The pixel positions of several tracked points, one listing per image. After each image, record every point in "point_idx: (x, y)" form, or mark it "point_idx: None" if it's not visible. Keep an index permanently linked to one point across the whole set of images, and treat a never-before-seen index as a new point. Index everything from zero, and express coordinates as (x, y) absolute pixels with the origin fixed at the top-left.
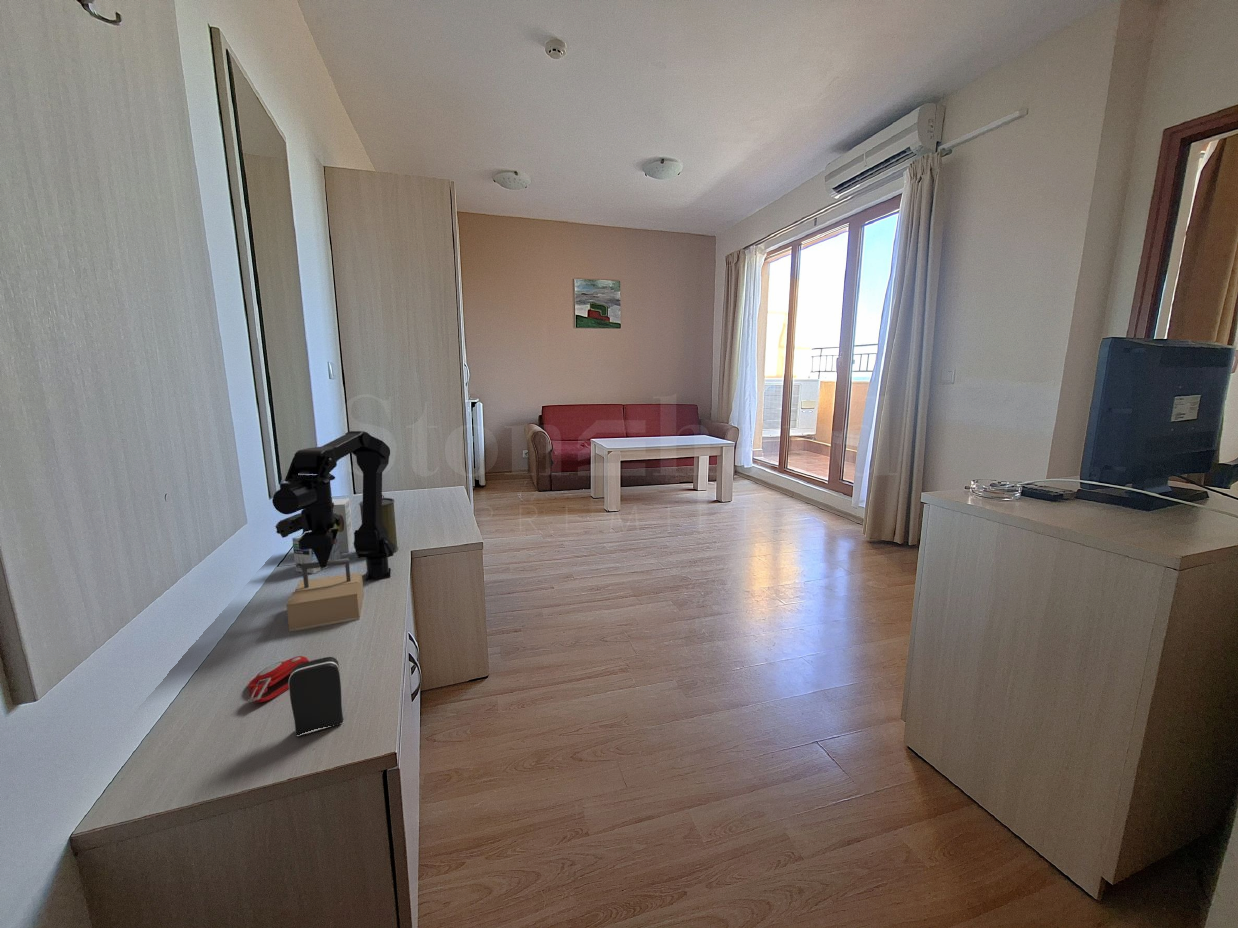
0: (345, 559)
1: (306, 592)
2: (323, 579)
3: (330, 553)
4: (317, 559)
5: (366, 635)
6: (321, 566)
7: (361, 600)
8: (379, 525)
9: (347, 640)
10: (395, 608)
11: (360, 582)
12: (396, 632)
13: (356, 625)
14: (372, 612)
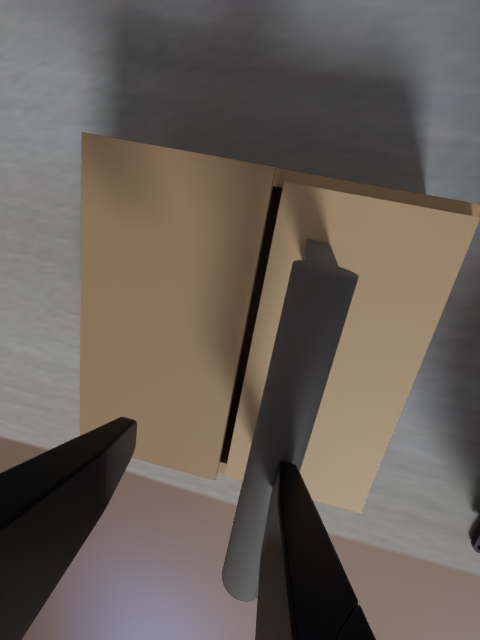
0: (231, 576)
1: (220, 246)
2: (388, 350)
3: (259, 576)
4: (32, 459)
5: (19, 373)
6: (118, 424)
7: None
8: None
9: (8, 324)
10: (163, 476)
11: None
12: (8, 437)
13: None
14: None
